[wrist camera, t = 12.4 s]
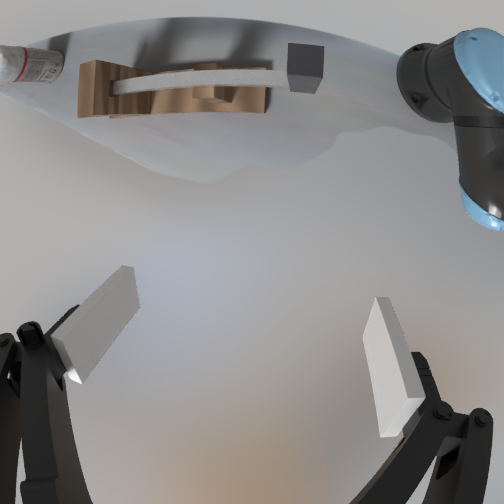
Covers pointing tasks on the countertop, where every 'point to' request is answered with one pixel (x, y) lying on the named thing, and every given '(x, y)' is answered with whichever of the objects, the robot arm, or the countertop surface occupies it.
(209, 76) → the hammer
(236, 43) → the countertop surface
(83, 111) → the rail base
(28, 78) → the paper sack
